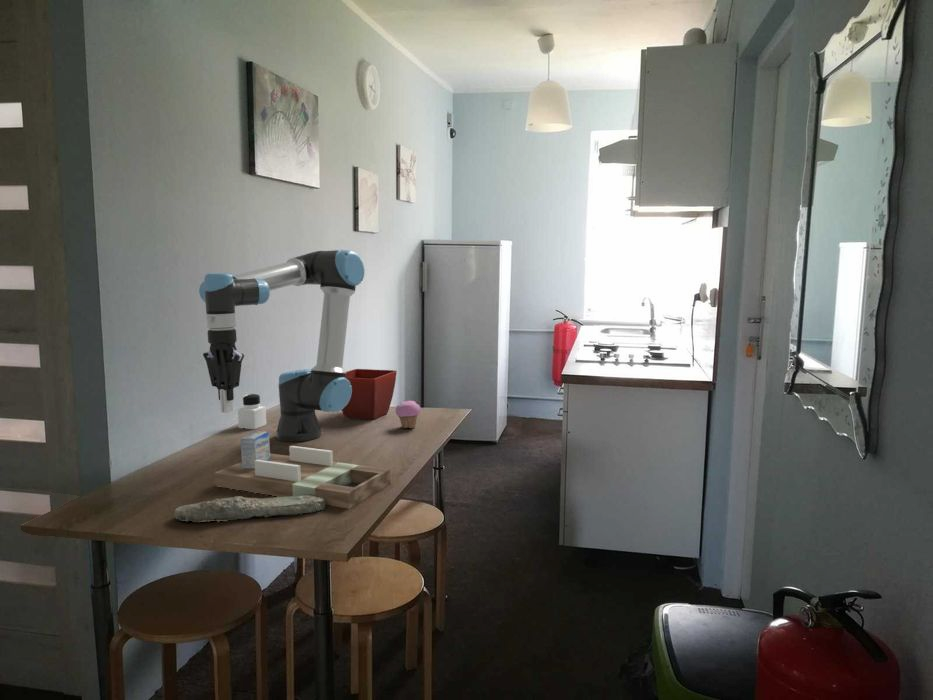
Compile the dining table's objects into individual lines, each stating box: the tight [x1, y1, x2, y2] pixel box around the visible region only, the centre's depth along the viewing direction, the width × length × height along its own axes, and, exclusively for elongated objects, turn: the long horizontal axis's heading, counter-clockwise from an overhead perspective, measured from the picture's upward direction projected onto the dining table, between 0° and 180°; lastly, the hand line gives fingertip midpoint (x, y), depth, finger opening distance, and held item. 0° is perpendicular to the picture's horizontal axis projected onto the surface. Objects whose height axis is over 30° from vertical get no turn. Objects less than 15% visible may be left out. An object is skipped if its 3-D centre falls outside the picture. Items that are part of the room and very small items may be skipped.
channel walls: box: [255, 445, 334, 482], centre depth 181 cm, size 15×14×4 cm
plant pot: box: [341, 368, 398, 421], centre depth 260 cm, size 19×19×17 cm
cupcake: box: [395, 400, 421, 429], centre depth 240 cm, size 9×9×10 cm
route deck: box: [214, 452, 392, 510], centre depth 180 cm, size 20×43×4 cm, turn 66°
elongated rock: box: [173, 495, 327, 523], centre depth 161 cm, size 35×5×10 cm
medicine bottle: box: [237, 393, 267, 430], centre depth 245 cm, size 7×7×12 cm
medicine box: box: [240, 430, 271, 469], centre depth 185 cm, size 8×4×9 cm, turn 168°
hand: (227, 411), depth 188 cm, fingers closed
